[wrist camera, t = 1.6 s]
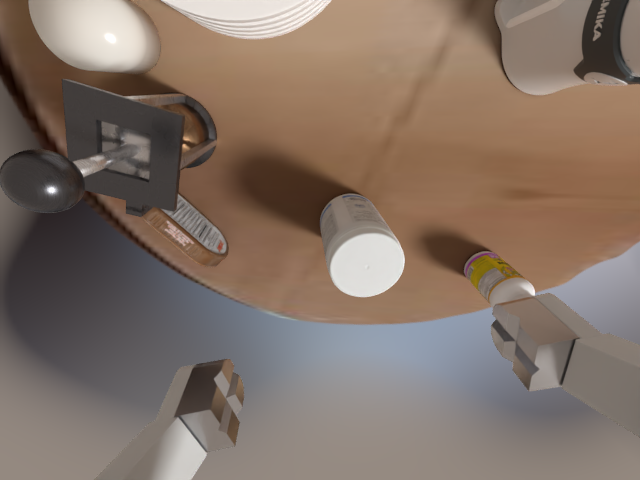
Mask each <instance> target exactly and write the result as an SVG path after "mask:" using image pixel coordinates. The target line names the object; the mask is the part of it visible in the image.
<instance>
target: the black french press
mask: <svg viewBox="0 0 640 480" xmlns="http://www.w3.org/2000/svg"><path fill="white" fill-rule="evenodd" d="M62 89H63V101H64V114H65V126H66V139H67V151H68V159H69V160H71V161H72V162H74V161H77V160H80V159H83V158H86V157H89V156H92V155H95V154H98V153H101V152H102V121H103V122H106V123H110V124H113V125H117V126H120V127H123V128H127V129H130V130H134V131H137V132H141V133H144V134H148V135H151V152H150V174H149V179H146V178H142V177H138V176H134V175H130V174H127V173H123V172H119V171H115V170H111V169H107V168H105V169H102V170H100V171H97V172H95V173H93V174H90V175H88V176H85V177H84V180H85V190H86V191H90V192H95V193H99V194H103V195H107V196H111V197H115V198H119V199H123V200H126V214H130V215H135V216H139V217H142V216H143V215H145V214H146V213H147V212H148V211H150V210H151V209H152V208H153V207H156V208H160V209H164V210H168V211H172V212H174V211H175V210H176V209H177V200H178V189H179V179H180V170H182V169H184V168H191V167H195V166H198V165H200V164H202V163H204V162H205V161H206V160H207V159H209V158H210V156H211V155H212V153H213V152H214V149H215V147H216V142H217V133H216V128H215V124H214V122H213V119H212V118H211V116H210V114H209V113H208V111H207V110H206V109H205V108H204V107H203V106H202V105H201V104H200V103H199V102H198V101H196V100H195V99H193V98H191V97H189V96H187V95H184V94H180V93H164V94H160V95H142V96H122V95H118V94H115V93H112V92H109V91H105V90H102V89H99V88H96V87H92V86H89V85H86V84H83V83H79V82H76V81H73V80H70V79H62Z"/></svg>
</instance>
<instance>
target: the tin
mask: <svg viewBox="0 0 640 480" xmlns="http://www.w3.org/2000/svg"><path fill="white" fill-rule="evenodd" d="M141 218H142V219H143V220H144V221H145V222H146V223H147V224H148V225H150V226H151V227H152V228H153V229H155V230H156V231H157V232H158V233H159V234H161V235H162V236H163V237H164V238H165V239H167V240H168V241H169V242H170V243H172V244H173V245H174V246H175V247H177V248H178V249H179V250H180V251H181V252H183V253H184V254H185V255H186V256H187V257H189V258H190V259H191V260H192V261H194V262H195V263H197V264H199V265H201V266H204V267H209V268H212V267H215V266H217V265H218V264H219V263H220V262H221V261H222V260H223V259H224V258H226V256H227V255H228V250H229V247H228V243H227V240H226V239H225V237H224V235H223V234H222V233H221V231H220V230H219V229H218V228H217V227H216V226H215V225H214V224H213V223H212V222H211V221H210V220H208V219H207V218H206V217H205V216H204V215H203V214H202V213H201V212H200V211H199V210H198V209H197V208H195V207H194V206H193V205H192V204H191V203H190V202H189V201H188V200H187V199H185V198H184V197H183V196H182V195H181V194H180V193H179V192H178V200H177V209H176V210H175V211H174V212H172V211H168V210H164V209H160V208H156V207H153V208H152V209H151V210H150V211H148V212H147V213H146V214H145V215H143V216H142V217H141Z"/></svg>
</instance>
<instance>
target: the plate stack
mask: <svg viewBox="0 0 640 480" xmlns="http://www.w3.org/2000/svg"><path fill="white" fill-rule="evenodd" d="M161 1H163V2H164V3H166V4H167V5H169V6H170V7H172V8H174V9H175V10H177V11H178V12H180V13H182V14H183V15H185V16H186V17H188V18H190V19H191V20H193V21H194V22H196V23H198V24H200V25H201V26H203V27H205V28H207V29H210V30H212V31H214V32H217V33H220V34H223V35H226V36H230V37H235V38H241V39H266V38H272V37H276V36H280V35H283V34H286V33H289V32H291V31H293V30H295V29H297V28H299V27H301V26H303V25H304V24H306V23H307V22H309V21H310V20H312V19H313V18H314V17H315V16H317V15H318V14H319V13H320V12H321V11H322V10H323V9H324V8H325V7H326V6H327V5H328V4H329V3H330V2H331V0H161Z"/></svg>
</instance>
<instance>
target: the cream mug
mask: <svg viewBox="0 0 640 480" xmlns="http://www.w3.org/2000/svg"><path fill="white" fill-rule="evenodd" d="M29 12H30V16H31V19H32V22H33V25H34V27H35V29H36V31H37V33H38V35H39V36H40V38H41V39H42V41H43V42H44V44H45V45H46V46H47V47H48V48H49V49H50V50H51V51H52V52H53V53H54V54H55V55H56V56H57V57H58V58H60V59H61V60H63V61H64V62H66V63H67V64H69V65H71V66H73V67H76V68H79V69H82V70H90V71H102V72H114V73H126V74H143V73H146V72H148V71H150V70H151V69H152V68H153V67H154V66H155V65H156V63H157V62H158V60H159V56H160V51H161V44H160V37H159V34H158V31H157V28H156V26H155V24H154V22H153V21H152V19H151V18H150V16H149V15H148V14H147V13H146V12H145V11H144V10H143V9H142V8H141V7H140V6H138V5H137V4H135V3H134V2H132V1H130V0H29Z"/></svg>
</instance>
